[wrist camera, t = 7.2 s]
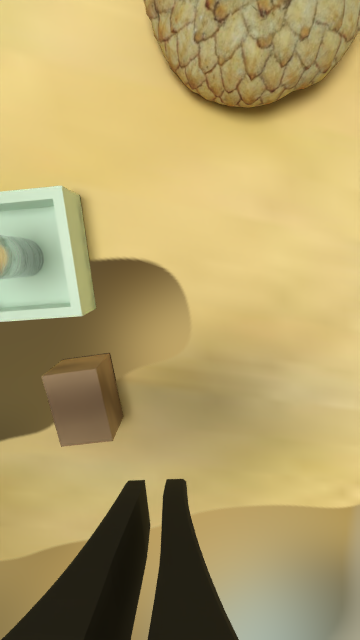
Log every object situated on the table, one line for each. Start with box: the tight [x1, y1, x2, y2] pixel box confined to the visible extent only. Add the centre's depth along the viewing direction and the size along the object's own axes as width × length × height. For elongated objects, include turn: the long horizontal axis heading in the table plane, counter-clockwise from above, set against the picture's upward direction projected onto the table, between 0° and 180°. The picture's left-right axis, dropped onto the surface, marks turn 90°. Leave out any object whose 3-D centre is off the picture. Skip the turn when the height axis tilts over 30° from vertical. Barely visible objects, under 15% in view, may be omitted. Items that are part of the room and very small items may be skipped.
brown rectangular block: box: [41, 353, 123, 447], centre depth 19 cm, size 5×4×3 cm
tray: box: [0, 186, 96, 322], centre depth 17 cm, size 7×7×2 cm
